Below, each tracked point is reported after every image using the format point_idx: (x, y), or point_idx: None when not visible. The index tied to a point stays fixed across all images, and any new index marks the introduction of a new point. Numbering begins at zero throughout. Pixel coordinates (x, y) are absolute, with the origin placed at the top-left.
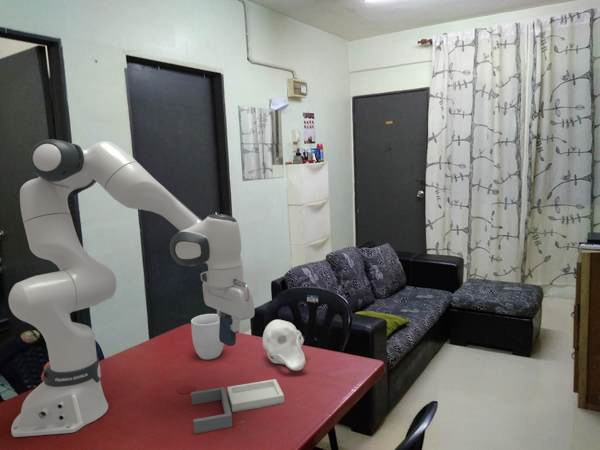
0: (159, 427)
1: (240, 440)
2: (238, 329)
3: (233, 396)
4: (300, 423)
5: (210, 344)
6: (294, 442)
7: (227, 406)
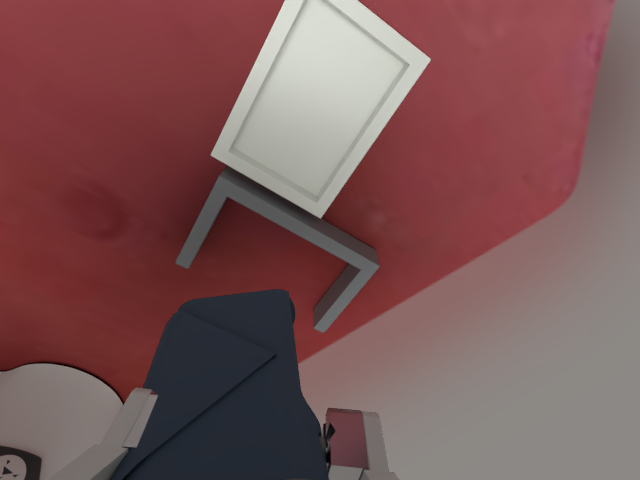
0: None
1: (431, 270)
2: (376, 423)
3: (284, 184)
4: (536, 123)
5: None
6: (560, 200)
7: (333, 246)
